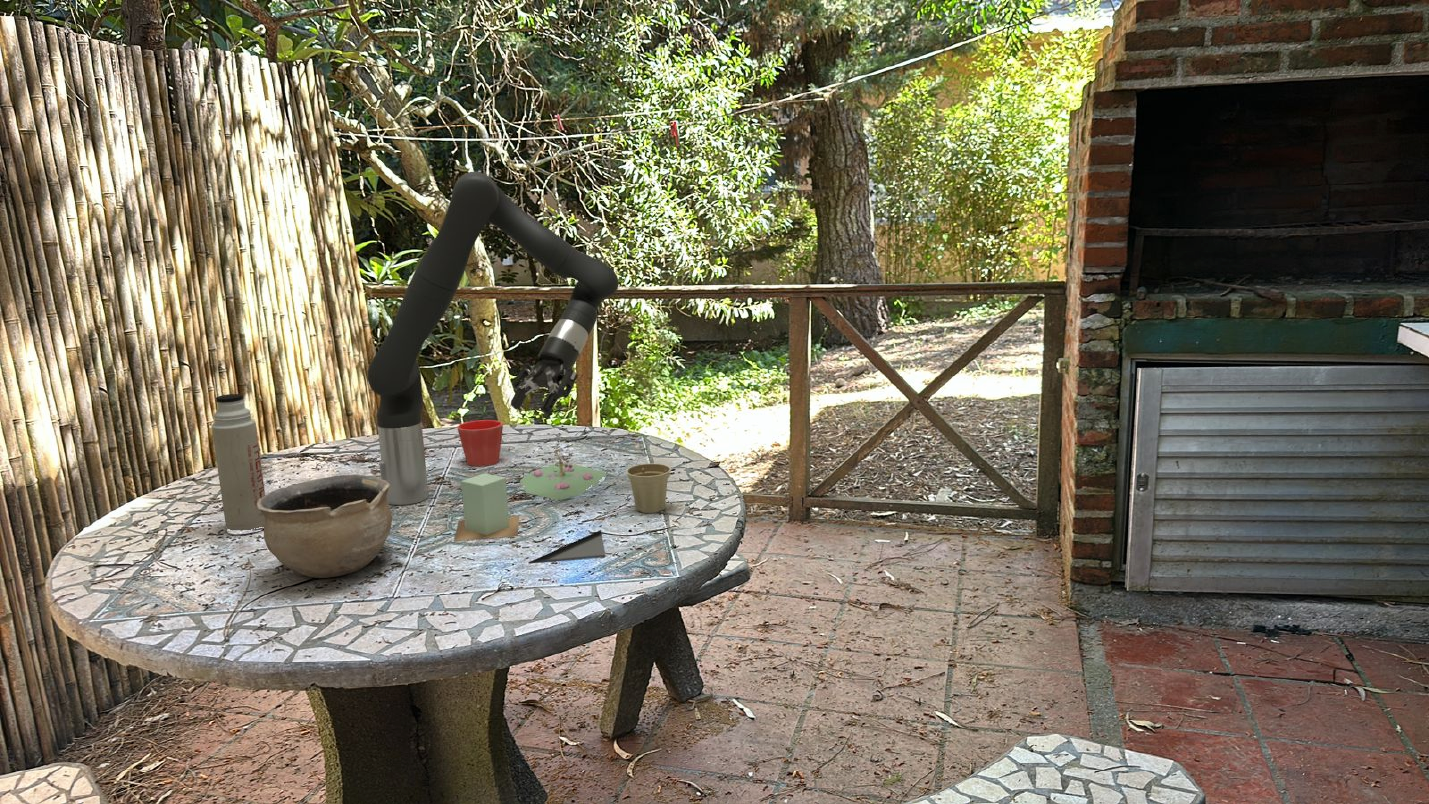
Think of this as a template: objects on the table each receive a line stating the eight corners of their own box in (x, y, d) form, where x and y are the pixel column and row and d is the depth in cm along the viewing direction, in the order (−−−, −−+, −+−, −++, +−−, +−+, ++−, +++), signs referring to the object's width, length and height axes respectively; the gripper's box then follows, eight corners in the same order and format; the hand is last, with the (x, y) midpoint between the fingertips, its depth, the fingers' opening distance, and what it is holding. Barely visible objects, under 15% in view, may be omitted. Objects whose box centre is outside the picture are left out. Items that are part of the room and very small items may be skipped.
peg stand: (454, 548, 187) (450, 506, 185) (459, 527, 199) (455, 487, 197) (518, 543, 189) (515, 501, 187) (519, 522, 201) (516, 482, 199)
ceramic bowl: (319, 603, 164) (308, 518, 161) (241, 578, 175) (230, 498, 172) (422, 559, 182) (414, 481, 179) (345, 539, 194) (337, 466, 190)
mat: (528, 563, 179) (528, 561, 179) (529, 537, 192) (528, 535, 192) (605, 556, 181) (605, 554, 181) (600, 530, 194) (600, 529, 194)
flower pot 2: (638, 519, 201) (636, 478, 199) (620, 506, 209) (619, 467, 207) (679, 511, 205) (678, 471, 203) (661, 499, 213) (659, 460, 211)
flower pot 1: (470, 456, 251) (467, 419, 249) (511, 456, 249) (508, 419, 247) (453, 468, 241) (450, 429, 239) (496, 468, 239) (493, 430, 237)
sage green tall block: (486, 535, 189) (482, 485, 187) (465, 529, 193) (461, 481, 191) (509, 526, 194) (505, 477, 192) (488, 520, 198) (484, 473, 195)
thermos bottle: (277, 522, 204) (260, 391, 198) (252, 536, 197) (233, 400, 191) (243, 521, 206) (225, 390, 200) (217, 534, 198) (197, 399, 192)
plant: (607, 499, 215) (605, 460, 213) (512, 505, 213) (509, 465, 211) (606, 467, 239) (604, 432, 237) (520, 472, 237) (517, 436, 235)
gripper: (530, 333, 209) (494, 396, 202) (579, 337, 201) (543, 403, 194) (549, 353, 214) (514, 415, 208) (598, 358, 206) (564, 423, 200)
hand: (528, 409), depth 201 cm, fingers open, 8 cm apart
